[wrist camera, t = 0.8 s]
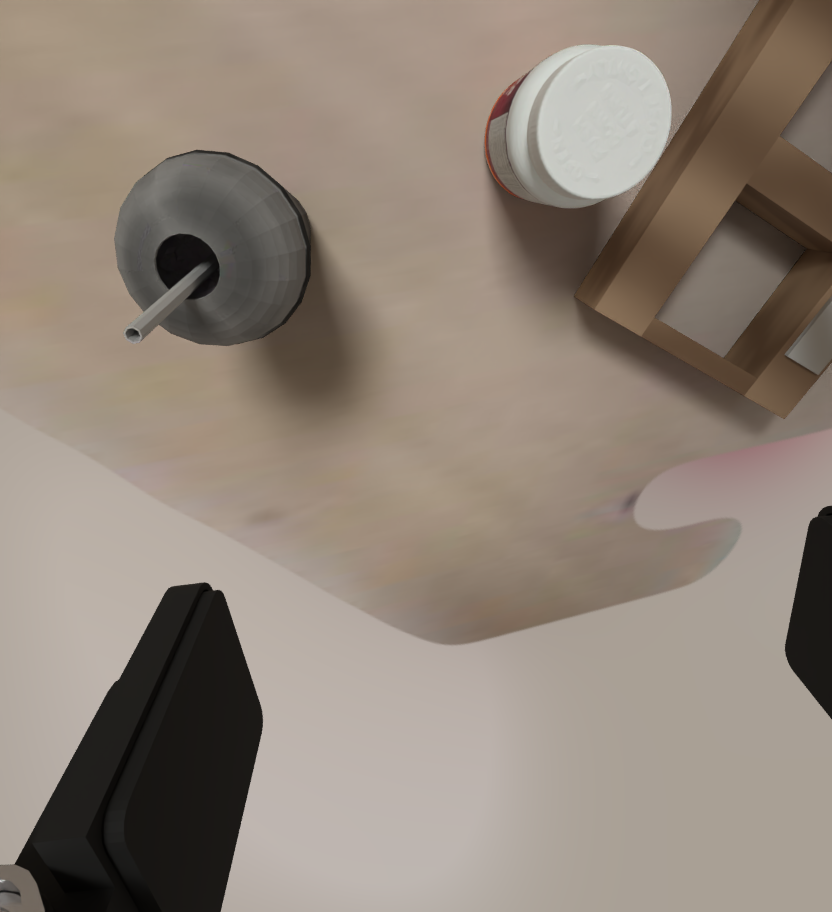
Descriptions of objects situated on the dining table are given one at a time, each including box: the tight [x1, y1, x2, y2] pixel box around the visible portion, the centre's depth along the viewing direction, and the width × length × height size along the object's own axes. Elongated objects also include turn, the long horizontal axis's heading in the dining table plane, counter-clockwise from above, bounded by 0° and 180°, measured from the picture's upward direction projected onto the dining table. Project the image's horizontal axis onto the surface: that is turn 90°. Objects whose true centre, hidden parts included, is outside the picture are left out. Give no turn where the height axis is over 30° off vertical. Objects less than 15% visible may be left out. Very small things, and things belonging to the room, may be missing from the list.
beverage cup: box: [114, 150, 311, 346], centre depth 25 cm, size 7×7×20 cm
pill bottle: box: [484, 44, 671, 208], centre depth 27 cm, size 6×6×11 cm
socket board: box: [574, 0, 832, 419], centre depth 32 cm, size 20×14×4 cm
